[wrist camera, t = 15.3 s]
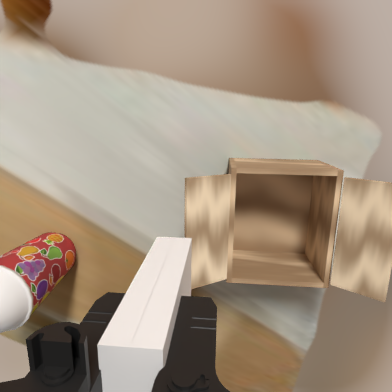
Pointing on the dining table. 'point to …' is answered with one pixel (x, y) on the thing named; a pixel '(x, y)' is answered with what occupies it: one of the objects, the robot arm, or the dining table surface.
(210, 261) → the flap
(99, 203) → the dining table surface
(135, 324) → the robot arm
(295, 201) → the carton
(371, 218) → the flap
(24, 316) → the smoothie
